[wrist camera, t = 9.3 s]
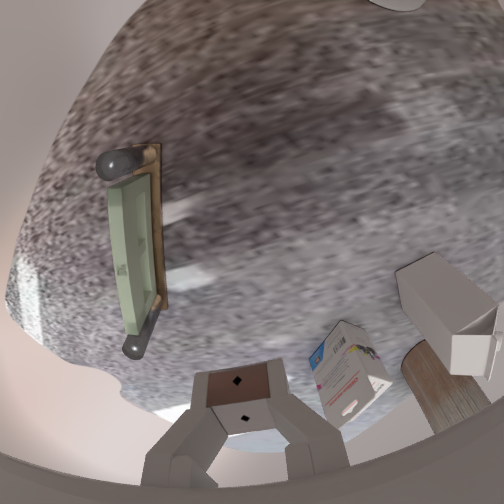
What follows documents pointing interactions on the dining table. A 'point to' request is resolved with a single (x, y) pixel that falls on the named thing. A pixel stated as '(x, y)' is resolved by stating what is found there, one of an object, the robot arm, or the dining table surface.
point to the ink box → (348, 374)
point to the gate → (132, 248)
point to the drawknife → (149, 162)
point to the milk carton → (451, 315)
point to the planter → (441, 389)
